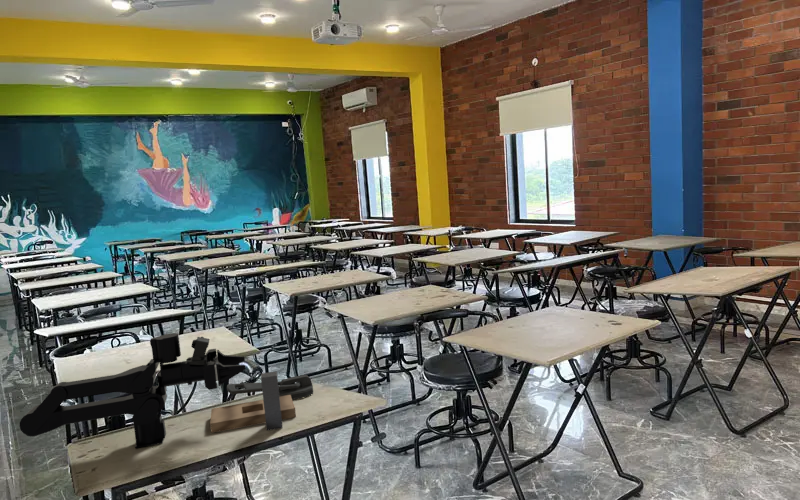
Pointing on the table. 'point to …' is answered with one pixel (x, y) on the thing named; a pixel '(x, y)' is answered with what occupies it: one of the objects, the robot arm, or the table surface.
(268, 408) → the dark grey square post
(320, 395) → the table surface
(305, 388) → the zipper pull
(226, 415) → the post foot
